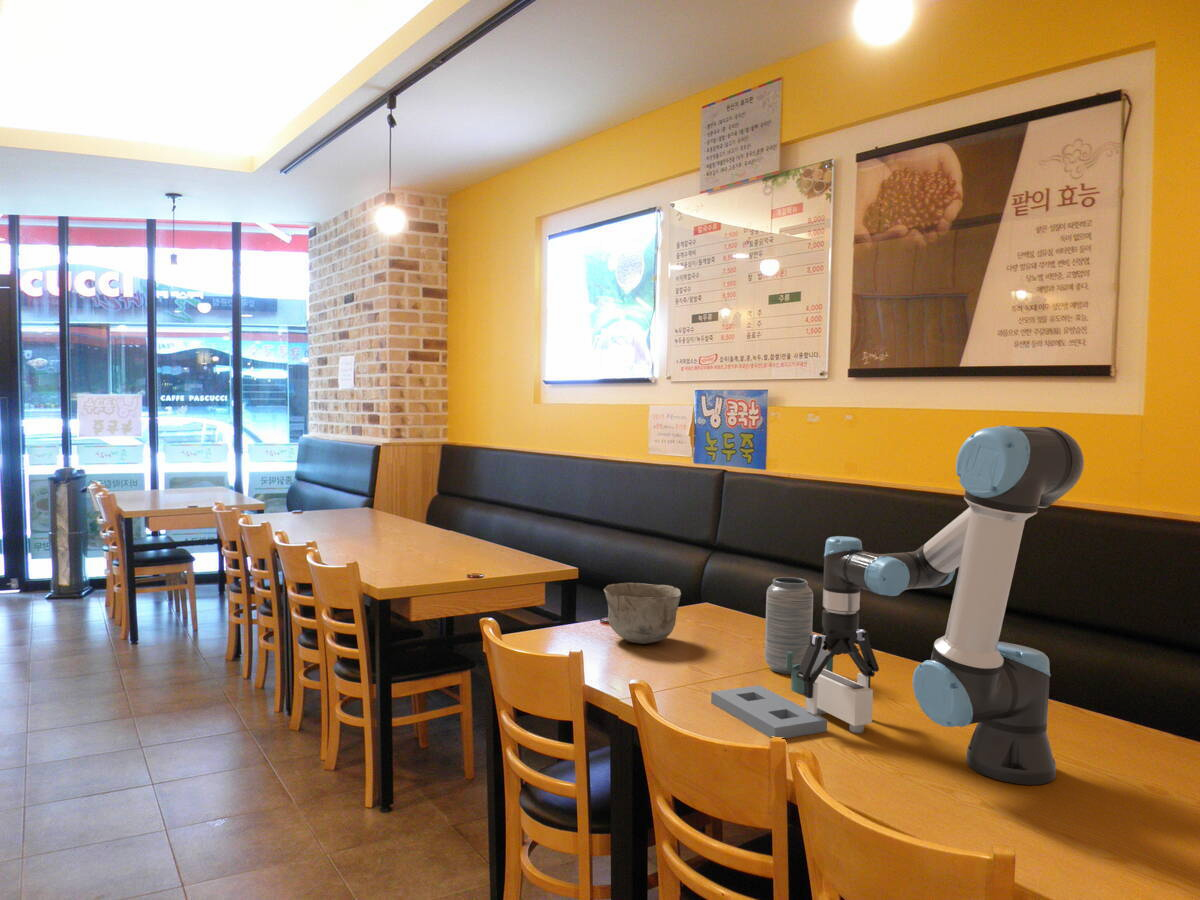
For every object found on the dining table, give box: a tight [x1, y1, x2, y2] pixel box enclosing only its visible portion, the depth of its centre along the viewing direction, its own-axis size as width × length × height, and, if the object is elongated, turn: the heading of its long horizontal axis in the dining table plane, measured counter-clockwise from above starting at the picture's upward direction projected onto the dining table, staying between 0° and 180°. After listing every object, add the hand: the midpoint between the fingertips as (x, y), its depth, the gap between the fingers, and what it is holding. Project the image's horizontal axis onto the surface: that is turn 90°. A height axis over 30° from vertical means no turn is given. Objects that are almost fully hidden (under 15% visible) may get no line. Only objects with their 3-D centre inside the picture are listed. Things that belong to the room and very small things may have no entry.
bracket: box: [786, 651, 834, 695], centre depth 209 cm, size 9×9×9 cm
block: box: [804, 669, 874, 734], centre depth 187 cm, size 16×4×9 cm, turn 24°
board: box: [710, 684, 828, 739], centre depth 189 cm, size 24×13×2 cm, turn 24°
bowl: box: [603, 582, 682, 645], centre depth 248 cm, size 22×22×15 cm
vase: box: [764, 576, 814, 675], centre depth 224 cm, size 12×12×23 cm
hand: (836, 708), depth 188 cm, fingers open, 13 cm apart
